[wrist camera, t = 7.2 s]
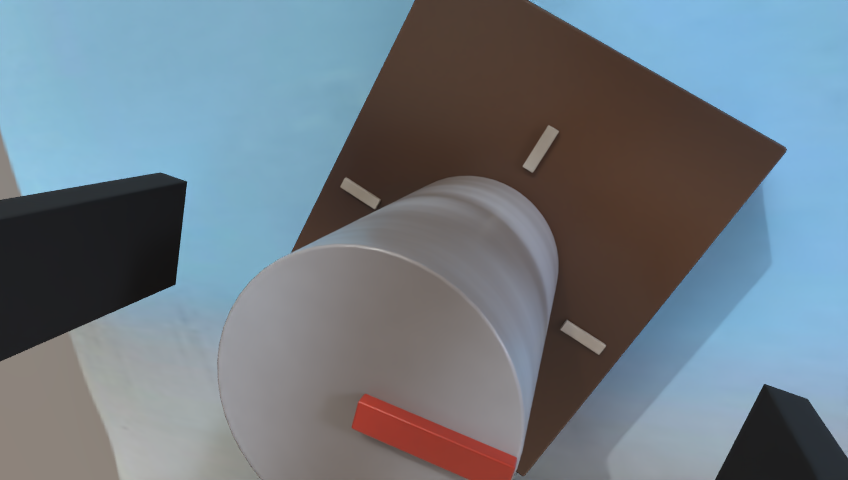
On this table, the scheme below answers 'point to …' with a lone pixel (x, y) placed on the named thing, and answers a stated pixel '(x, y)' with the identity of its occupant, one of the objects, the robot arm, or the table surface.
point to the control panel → (553, 169)
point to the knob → (396, 342)
